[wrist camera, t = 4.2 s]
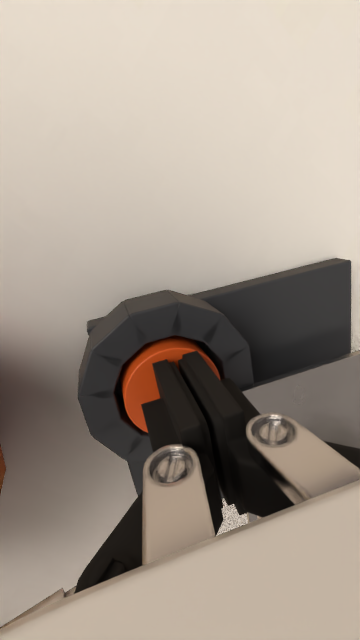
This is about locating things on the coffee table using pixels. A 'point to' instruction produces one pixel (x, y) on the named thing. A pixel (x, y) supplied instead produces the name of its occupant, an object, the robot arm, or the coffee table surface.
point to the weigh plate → (315, 399)
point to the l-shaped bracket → (216, 340)
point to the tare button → (152, 373)
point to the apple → (2, 469)
